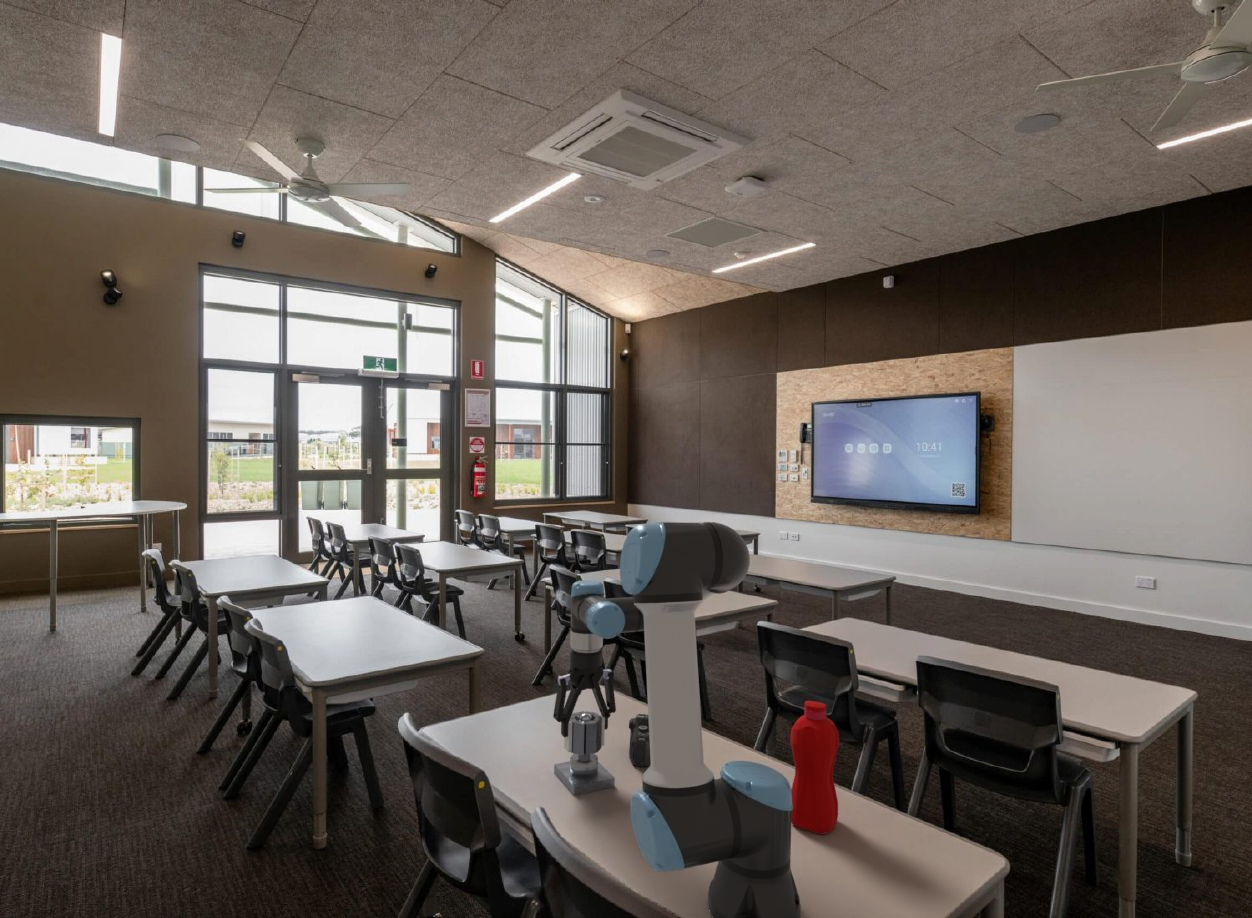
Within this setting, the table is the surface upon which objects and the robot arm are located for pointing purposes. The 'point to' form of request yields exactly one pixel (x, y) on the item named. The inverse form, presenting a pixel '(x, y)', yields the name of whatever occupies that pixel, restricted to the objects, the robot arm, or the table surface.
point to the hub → (586, 733)
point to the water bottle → (814, 770)
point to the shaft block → (584, 772)
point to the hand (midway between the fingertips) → (584, 746)
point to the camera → (640, 741)
